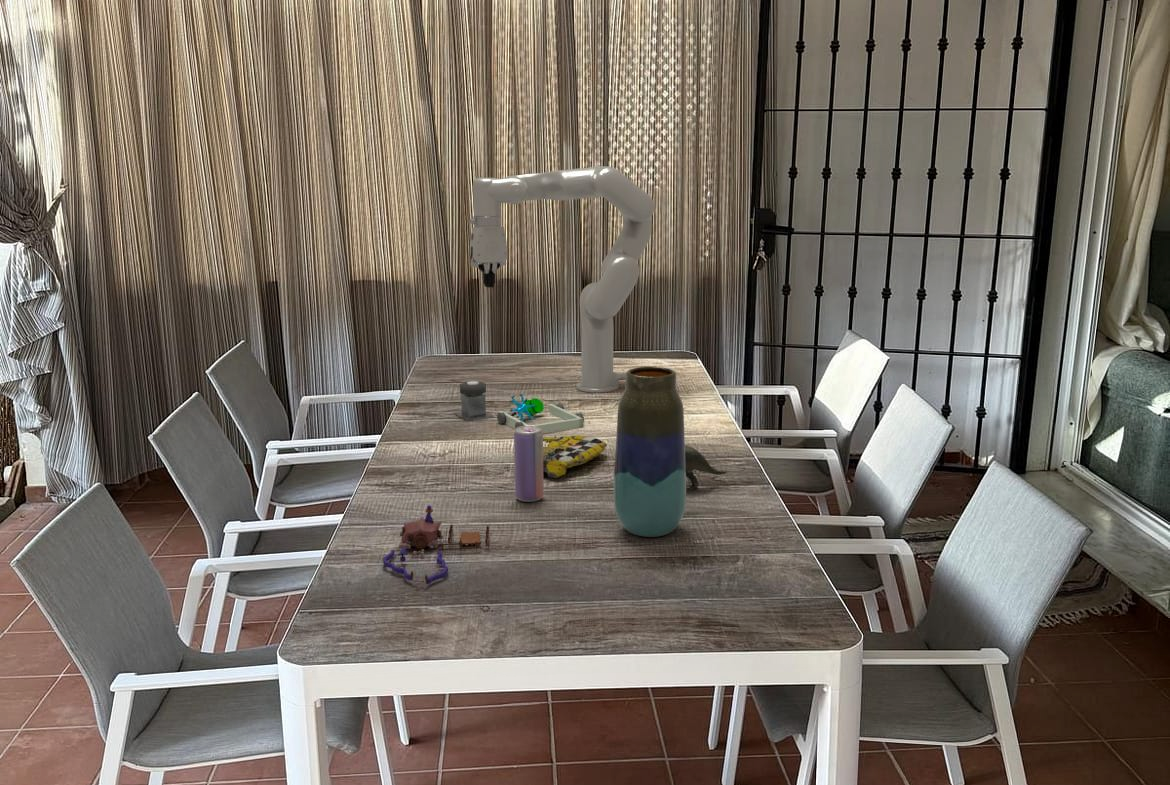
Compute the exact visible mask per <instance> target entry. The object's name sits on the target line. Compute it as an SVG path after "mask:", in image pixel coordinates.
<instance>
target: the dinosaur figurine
mask: <svg viewBox="0 0 1170 785" xmlns="http://www.w3.org/2000/svg"><path fill="white" fill-rule="evenodd" d="M685 463H686V479H688V480H690V483H691V485H690V486H689V488H688V489H689V490H694V489H696V488H698V486H699V482H698V478H697V477H696V476H695V474H694V473H693V472H694V471H699V472H704V473H708V474H711V475H716V476H717V475H725V474H727V473H728V471H726V470H725V471H724V470H718V469H716V468H714V467H712V466H711V465H710V464H709V462H708V460H707V459H706V458H705V457H704V456H703V455H702V454H701V453H700V452H699V451H698V450H697V449H695V448H694V447H693V446H690V445H687V444H685Z"/></svg>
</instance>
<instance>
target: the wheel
mask: <svg viewBox="0 0 1170 785" xmlns="http://www.w3.org/2000/svg"><path fill="white" fill-rule="evenodd" d="M486 392H487V383H485V382H480V381H476V380H475V381H474V380H472V381H467V382H462V383H460V384H459V393H460V395H461V394H465V395H469V396H477V395H478V394H485V393H486Z"/></svg>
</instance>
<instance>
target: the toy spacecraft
mask: <svg viewBox="0 0 1170 785" xmlns="http://www.w3.org/2000/svg"><path fill="white" fill-rule="evenodd" d="M543 442H545V444H547V446H543V473H546V474H547V476H548V477H549V478H554V479H557V478H559V477H562V476H564V475H566V474H567V470H568V469H569V468H572V467H577V466H581V465H582V464H586V463H587V462H589V461H591V460H593V461H594V462H596V461H597V460H598V459H599V460H600V459H601V457H600V456H599V455H601V453H603V452H604V451H605V450H606V447H607V446H608V444H607V443H606V442H604V441H602V440H601V439H599V438H596V437H592V436H591V437H588V436H584V435H565V436H563V435H562V436H561V437H556V435H554V437H544V436H543ZM596 458H597V459H596Z"/></svg>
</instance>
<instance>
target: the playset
mask: <svg viewBox="0 0 1170 785" xmlns="http://www.w3.org/2000/svg"><path fill="white" fill-rule="evenodd" d="M433 512H434V508H432V506H431V504H428V505H427V507H426V509H425V513H426V515H425V518H423V517H421V518H419V519H418V520H414V521H411V522H408V523H403V526H401V531H400V533H399V536H400V537H401V539H400V540H401V543H400V544H398V548H396V549H394V548H393V549H391V551H390V552H389V553H388V554H386V555H385V556H384V557H383V558H382V563H383V567H386V568H389V569H391V571H393V572H395V573H398V574H403V577H404V579H405V580H408V581H412V582H415V585H417V586H418V585H420V584H421V583H425V585H430V584H431V583H432V582H435V581H436V580H439V579H443V578H445V577H447V575H448V573H449V567H448V566H447V565H446V561H445V559H444V558H443V552H444V551H449V550H457V551H458V550H460V552H461V551H462V550H475V551H478V550H479V549H480V550H481V549H482V546H478V545H482V541H480V539H481V538H480V536H481V534H480V533H481V532H479V531H476V532H465V531H464V532H461V533H460V537H459V542H453V534H454V524H452V523H451V524H450V526H449V529H448V537H447V543H443V542H441V543H439V540H443V539H444V535H442V530H439V529H440V526H441V525H442V521H439V522H434V519H433V516H432V515H431V513H433ZM484 541H485V542H484V543H485V546H486V547H487V548H489V547H490V526H488V524H487V525H486V530H485V540H484ZM463 545H465V546H468V545H471V546H473V545H475V546H473V547H463ZM439 546H440V548H438V547H439ZM444 546H459V547H453V548H452V547H451V548H444ZM412 547H415V548H416V549H420V550H418V551H416V550H414V551H412V554H419V553H420V555H424V554H425V548H426V547H428V548H430V549H436V548H438V550H437V557H436V564H437V565H435V568H437V571H438V573H435V574H433V575H431V576H429V577H428V575H427V574H425V576H424V579H420V580H418V579H417V578H414V572H413V570H411V571H410V574H409V573H408V572H407V570H406V568H405V567H404V566H402V564H398V565H397V566H396V565H395V563H393V562H388V561H390V560H391V559H392V558H394V557H395V552H399V553H398V554H397V556H400V555H401V556H400V557H399V559H400V560H399V561H400V562H406V556H407V555H409V554H408V552H407V550H409V549H411V548H412ZM404 555H405V556H404ZM440 566H441V567H440Z"/></svg>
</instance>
